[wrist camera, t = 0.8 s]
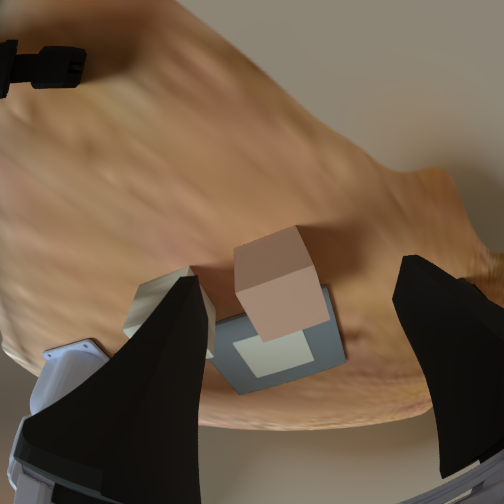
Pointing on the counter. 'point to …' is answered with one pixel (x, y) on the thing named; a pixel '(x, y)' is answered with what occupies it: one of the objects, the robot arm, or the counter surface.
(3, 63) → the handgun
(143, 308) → the block cream
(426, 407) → the counter surface
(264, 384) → the board
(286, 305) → the block brown
